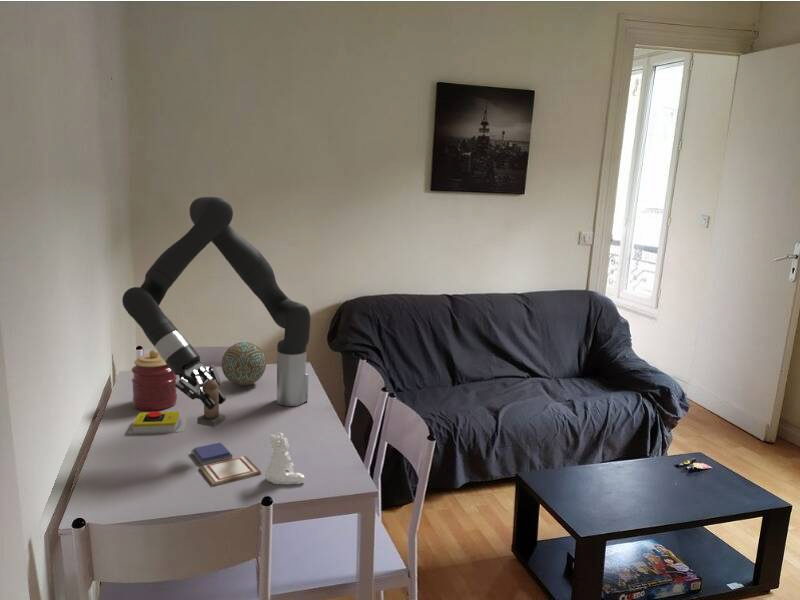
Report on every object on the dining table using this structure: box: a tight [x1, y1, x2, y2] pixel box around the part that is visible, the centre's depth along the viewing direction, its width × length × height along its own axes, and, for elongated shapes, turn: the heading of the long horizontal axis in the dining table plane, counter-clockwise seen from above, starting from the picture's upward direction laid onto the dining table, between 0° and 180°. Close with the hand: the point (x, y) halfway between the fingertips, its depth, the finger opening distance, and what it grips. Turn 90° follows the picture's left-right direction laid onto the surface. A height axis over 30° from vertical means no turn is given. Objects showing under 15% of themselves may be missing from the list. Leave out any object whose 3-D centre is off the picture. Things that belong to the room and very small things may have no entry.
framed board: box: [198, 455, 262, 487], centre depth 150 cm, size 12×10×1 cm
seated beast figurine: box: [264, 431, 306, 485], centre depth 147 cm, size 10×9×12 cm
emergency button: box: [127, 410, 188, 435], centre depth 174 cm, size 9×4×15 cm
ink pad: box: [190, 442, 233, 466], centre depth 158 cm, size 8×8×2 cm
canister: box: [131, 349, 178, 412], centre depth 189 cm, size 13×13×18 cm
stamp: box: [196, 379, 227, 428], centre depth 155 cm, size 5×5×11 cm
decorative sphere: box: [221, 341, 267, 386], centre depth 212 cm, size 15×15×15 cm
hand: (218, 404), depth 155 cm, fingers closed on stamp, 3 cm apart
